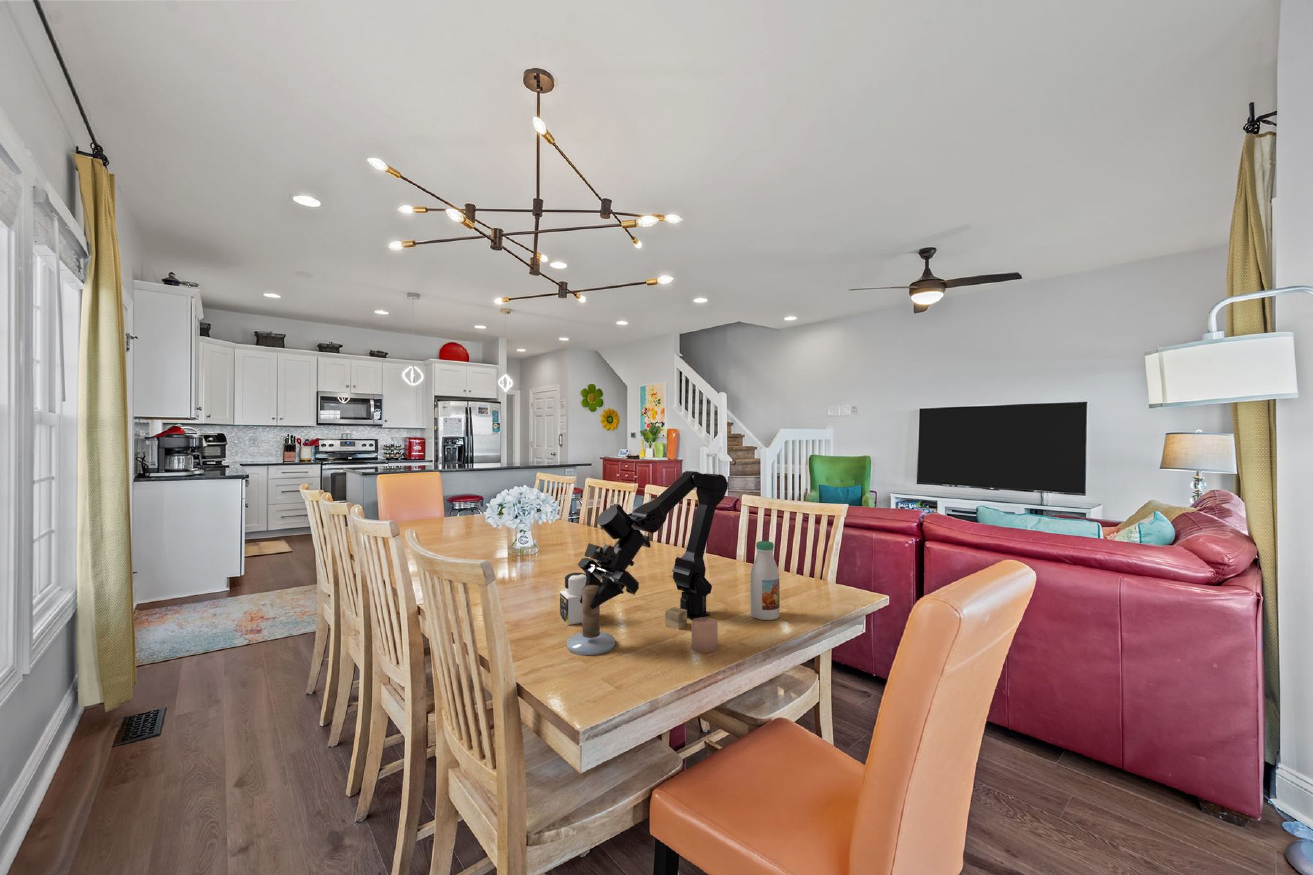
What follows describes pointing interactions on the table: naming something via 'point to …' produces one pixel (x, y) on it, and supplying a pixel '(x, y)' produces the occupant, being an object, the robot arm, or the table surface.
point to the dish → (590, 644)
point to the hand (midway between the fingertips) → (586, 605)
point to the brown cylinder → (590, 612)
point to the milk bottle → (765, 584)
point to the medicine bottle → (572, 598)
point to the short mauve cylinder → (704, 635)
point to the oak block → (676, 618)
